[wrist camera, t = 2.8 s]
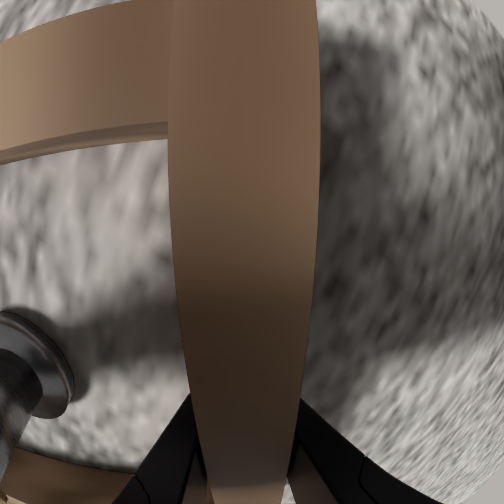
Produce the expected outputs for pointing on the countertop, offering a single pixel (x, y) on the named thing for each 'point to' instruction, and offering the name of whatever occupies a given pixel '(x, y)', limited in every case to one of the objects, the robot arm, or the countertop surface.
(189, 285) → the walnut frame
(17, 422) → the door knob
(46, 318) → the countertop surface
